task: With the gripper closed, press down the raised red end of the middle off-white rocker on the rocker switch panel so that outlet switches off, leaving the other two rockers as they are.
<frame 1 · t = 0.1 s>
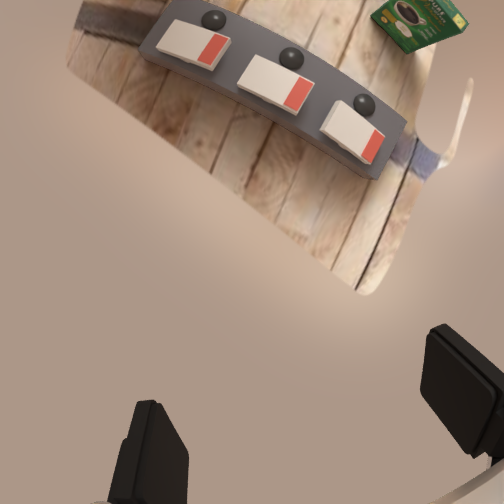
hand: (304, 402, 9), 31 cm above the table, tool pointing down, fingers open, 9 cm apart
rocker switch panel: (275, 83, 35), on the table
rocker 2: (275, 84, 30), point 5 cm above the table, hinge at 10.0°
coffee box: (392, 32, 33), on the table
rocker 1: (193, 44, 28), point 5 cm above the table, hinge at 10.0°
rocker 3: (352, 132, 32), point 5 cm above the table, hinge at -10.0°
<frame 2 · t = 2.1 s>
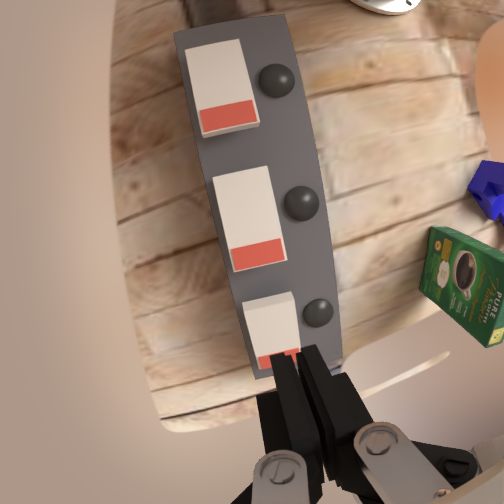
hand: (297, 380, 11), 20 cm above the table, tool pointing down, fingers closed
rocker switch panel: (264, 202, 29), on the table
blue piece: (494, 204, 31), on the table
rocker 2: (249, 218, 23), point 5 cm above the table, hinge at 10.0°
coffee box: (431, 258, 32), on the table
rocker 1: (221, 87, 20), point 5 cm above the table, hinge at 10.0°
rocker 3: (273, 331, 26), point 5 cm above the table, hinge at -10.0°
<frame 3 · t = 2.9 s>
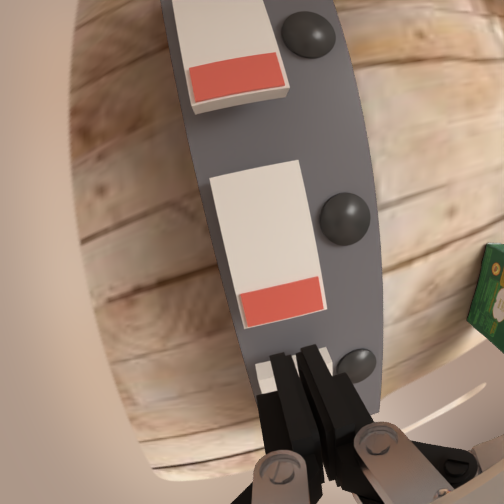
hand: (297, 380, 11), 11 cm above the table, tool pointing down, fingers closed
rocker switch panel: (285, 213, 20), on the table
rocker 2: (269, 244, 15), point 5 cm above the table, hinge at 10.0°
coffee box: (482, 282, 24), on the table
rocker 1: (224, 36, 12), point 5 cm above the table, hinge at 10.0°
rocker 3: (297, 396, 18), point 5 cm above the table, hinge at -10.0°
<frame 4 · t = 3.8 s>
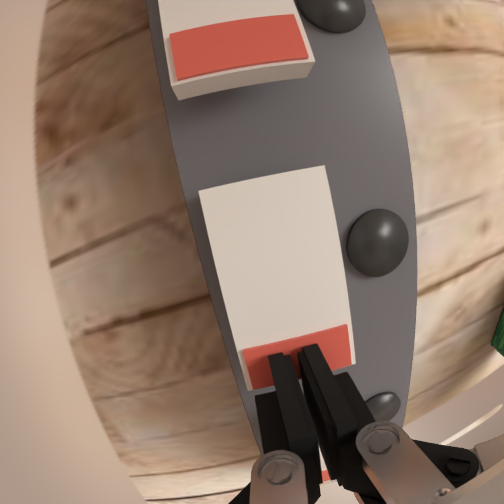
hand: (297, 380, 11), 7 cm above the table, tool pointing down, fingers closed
rocker switch panel: (297, 231, 16), on the table
rocker 2: (281, 280, 11), point 5 cm above the table, hinge at 9.4°, touching gripper
rocker 3: (310, 449, 14), point 5 cm above the table, hinge at -10.0°
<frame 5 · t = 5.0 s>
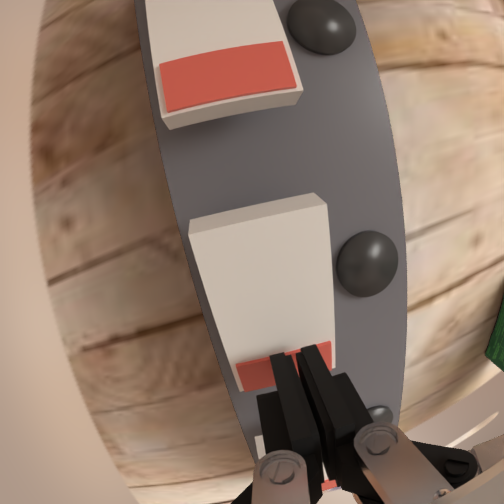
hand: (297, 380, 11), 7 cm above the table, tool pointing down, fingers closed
rocker switch panel: (289, 251, 16), on the table
rocker 2: (272, 302, 11), point 5 cm above the table, hinge at -11.1°
coffee box: (503, 313, 20), on the table
rocker 1: (211, 23, 8), point 5 cm above the table, hinge at 10.0°
rocker 3: (303, 462, 14), point 5 cm above the table, hinge at -10.0°
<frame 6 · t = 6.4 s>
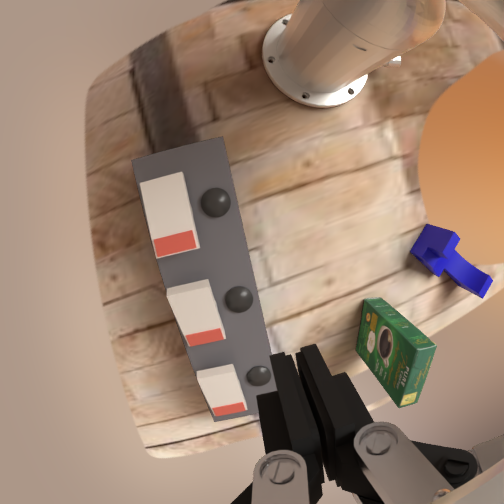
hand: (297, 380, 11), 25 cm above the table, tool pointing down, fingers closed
rocker switch panel: (215, 291, 36), on the table
blue piece: (440, 260, 39), on the table
rocker 2: (197, 313, 31), point 5 cm above the table, hinge at -17.5°, touching rocker switch panel
coffee box: (367, 324, 40), on the table
rocker 1: (170, 215, 28), point 5 cm above the table, hinge at 10.0°
rocker 3: (223, 390, 33), point 5 cm above the table, hinge at -10.0°
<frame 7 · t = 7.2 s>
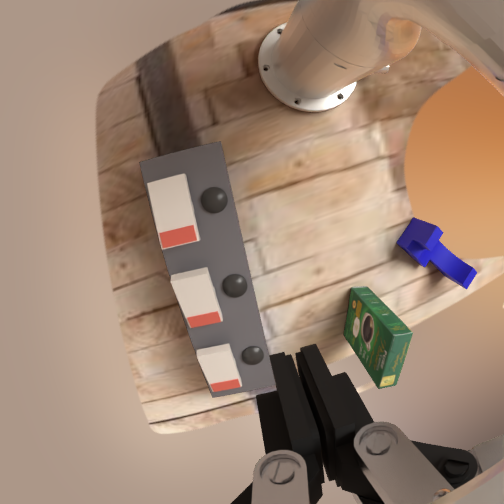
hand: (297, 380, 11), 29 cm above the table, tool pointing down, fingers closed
rocker switch panel: (214, 277, 40), on the table
blue piece: (426, 251, 43), on the table
rocker 2: (197, 297, 35), point 5 cm above the table, hinge at -15.6°
coffee box: (354, 311, 44), on the table
rocker 1: (173, 211, 32), point 5 cm above the table, hinge at 10.0°
rocker 3: (220, 367, 38), point 5 cm above the table, hinge at -10.0°
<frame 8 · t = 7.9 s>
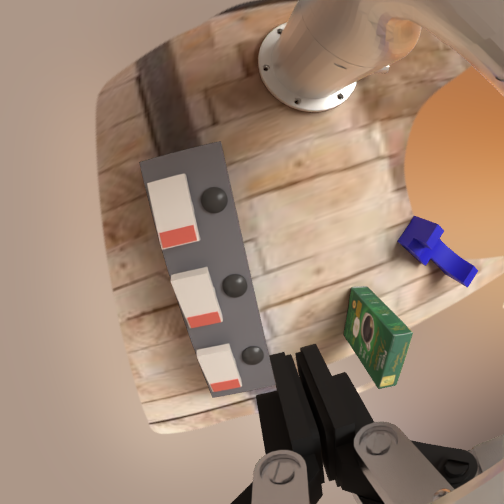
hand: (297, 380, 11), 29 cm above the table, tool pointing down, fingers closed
rocker switch panel: (214, 277, 40), on the table
blue piece: (427, 250, 43), on the table
rocker 2: (197, 297, 35), point 5 cm above the table, hinge at -14.5°
coffee box: (354, 311, 44), on the table
rocker 1: (173, 211, 32), point 5 cm above the table, hinge at 10.0°
rocker 3: (220, 367, 38), point 5 cm above the table, hinge at -10.0°
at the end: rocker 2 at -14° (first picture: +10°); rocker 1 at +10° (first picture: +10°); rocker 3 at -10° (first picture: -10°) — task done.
